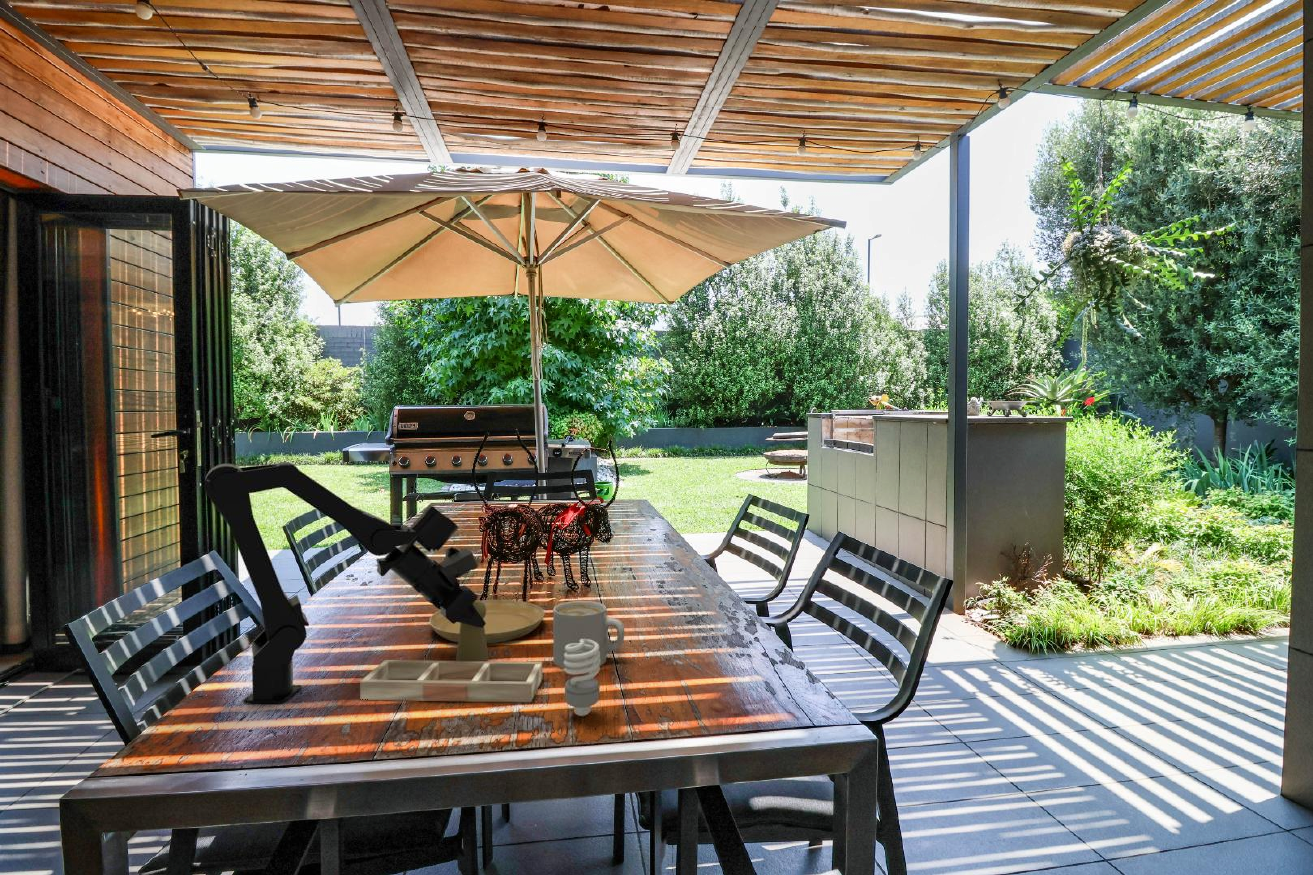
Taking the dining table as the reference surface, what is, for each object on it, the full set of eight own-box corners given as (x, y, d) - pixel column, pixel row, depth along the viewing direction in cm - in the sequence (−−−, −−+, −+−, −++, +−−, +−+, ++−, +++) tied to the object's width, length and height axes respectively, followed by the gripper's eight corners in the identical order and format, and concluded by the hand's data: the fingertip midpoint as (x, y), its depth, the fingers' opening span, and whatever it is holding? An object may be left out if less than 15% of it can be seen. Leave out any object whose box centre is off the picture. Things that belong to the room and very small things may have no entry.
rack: (530, 703, 116) (530, 684, 116) (359, 700, 117) (359, 682, 117) (542, 678, 126) (542, 661, 126) (385, 676, 127) (384, 659, 127)
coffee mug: (543, 665, 133) (543, 612, 132) (568, 648, 142) (568, 598, 142) (610, 675, 128) (610, 619, 128) (631, 656, 138) (631, 605, 137)
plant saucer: (508, 654, 140) (507, 637, 139) (405, 640, 147) (404, 625, 147) (563, 619, 162) (563, 605, 162) (471, 609, 170) (471, 595, 170)
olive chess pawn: (480, 666, 132) (479, 607, 132) (449, 664, 133) (449, 605, 133) (494, 655, 138) (493, 599, 138) (464, 653, 139) (464, 597, 139)
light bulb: (582, 705, 115) (582, 631, 115) (608, 715, 112) (607, 639, 111) (556, 717, 111) (556, 640, 110) (582, 727, 107) (581, 648, 107)
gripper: (465, 545, 125) (525, 599, 131) (437, 529, 141) (492, 578, 147) (419, 596, 121) (483, 649, 127) (395, 573, 137) (454, 622, 143)
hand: (479, 621), depth 136 cm, fingers open, 5 cm apart
